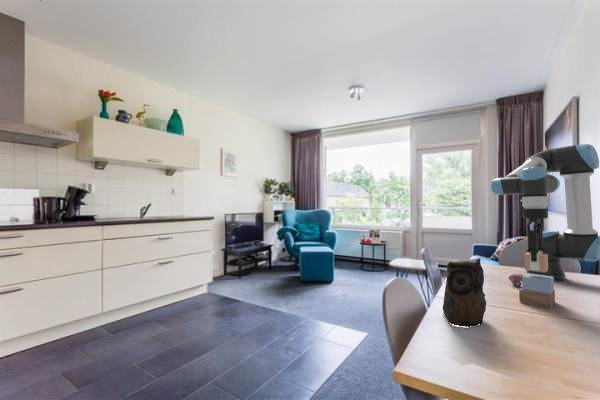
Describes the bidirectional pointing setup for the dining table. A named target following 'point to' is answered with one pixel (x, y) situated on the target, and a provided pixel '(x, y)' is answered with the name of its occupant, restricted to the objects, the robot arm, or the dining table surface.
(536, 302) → the walnut base
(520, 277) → the video game controller
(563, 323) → the dining table surface
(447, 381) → the dining table surface
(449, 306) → the owl
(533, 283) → the slate block
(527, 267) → the terracotta cube
